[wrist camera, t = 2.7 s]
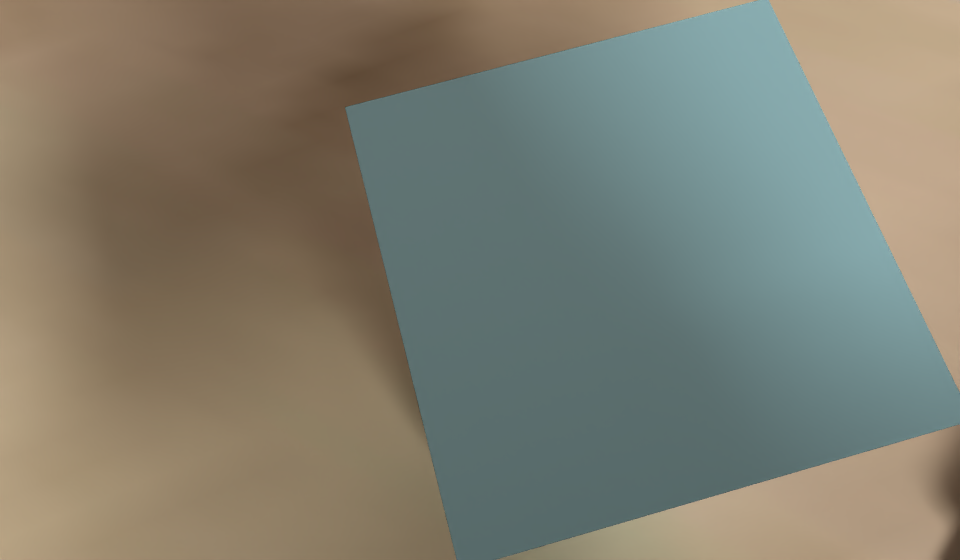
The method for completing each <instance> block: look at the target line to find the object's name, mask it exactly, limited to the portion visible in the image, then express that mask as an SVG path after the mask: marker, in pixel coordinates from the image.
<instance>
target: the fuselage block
mask: <svg viewBox="0 0 960 560" xmlns="http://www.w3.org/2000/svg"><path fill="white" fill-rule="evenodd" d="M345 109H346V113H347V117H348V121H349V125H350V129H351V134H352V138H353V142H354V146H355V150H356V154H357V158H358V162H359V166H360V170H361V174H362V178H363V182H364V186H365V190H366V194H367V198H368V202H369V206H370V210H371V215H372V219H373V223H374V227H375V231H376V235H377V239H378V243H379V247H380V251H381V255H382V259H383V263H384V267H385V271H386V275H387V279H388V283H389V287H390V292H391V296H392V300H393V304H394V308H395V312H396V316H397V320H398V324H399V328H400V332H401V336H402V340H403V344H404V348H405V352H406V356H407V360H408V364H409V369H410V373H411V377H412V381H413V385H414V389H415V393H416V397H417V401H418V405H419V409H420V413H421V417H422V421H423V425H424V429H425V433H426V437H427V441H428V446H429V450H430V454H431V458H432V462H433V466H434V470H435V474H436V478H437V482H438V486H439V490H440V494H441V498H442V502H443V506H444V510H445V514H446V518H447V522H448V527H449V531H450V535H451V539H452V543H453V547H454V551H455V555H456V559H457V560H496V559H500V558H503V557H506V556H510V555H513V554H517V553H520V552H524V551H527V550H530V549H534V548H537V547H541V546H544V545H548V544H551V543H554V542H558V541H561V540H565V539H568V538H572V537H575V536H578V535H582V534H585V533H589V532H592V531H596V530H599V529H602V528H606V527H609V526H613V525H616V524H620V523H623V522H626V521H630V520H633V519H637V518H640V517H644V516H647V515H650V514H654V513H657V512H661V511H664V510H667V509H671V508H674V507H678V506H681V505H685V504H688V503H691V502H695V501H698V500H702V499H705V498H709V497H712V496H715V495H719V494H722V493H726V492H729V491H733V490H736V489H739V488H743V487H746V486H750V485H753V484H757V483H760V482H763V481H767V480H770V479H774V478H777V477H781V476H784V475H787V474H791V473H794V472H798V471H801V470H805V469H808V468H811V467H815V466H818V465H822V464H825V463H829V462H832V461H835V460H839V459H842V458H846V457H849V456H852V455H856V454H859V453H863V452H866V451H870V450H873V449H876V448H880V447H883V446H887V445H890V444H894V443H897V442H900V441H904V440H907V439H911V438H914V437H918V436H921V435H924V434H928V433H931V432H935V431H938V430H942V429H945V428H948V427H952V426H955V425H959V424H960V393H959V390H958V388H957V386H956V384H955V382H954V380H953V378H952V376H951V374H950V372H949V370H948V368H947V366H946V364H945V362H944V360H943V358H942V356H941V354H940V351H939V349H938V347H937V345H936V343H935V341H934V339H933V337H932V335H931V333H930V331H929V329H928V327H927V325H926V323H925V321H924V319H923V317H922V314H921V312H920V310H919V308H918V306H917V304H916V302H915V300H914V298H913V296H912V294H911V292H910V290H909V288H908V286H907V284H906V282H905V280H904V278H903V275H902V273H901V271H900V269H899V267H898V265H897V263H896V261H895V259H894V257H893V255H892V253H891V251H890V249H889V247H888V245H887V243H886V241H885V238H884V236H883V234H882V232H881V230H880V228H879V226H878V224H877V222H876V220H875V218H874V216H873V214H872V212H871V210H870V208H869V206H868V204H867V201H866V199H865V197H864V195H863V193H862V191H861V189H860V187H859V185H858V183H857V181H856V179H855V177H854V175H853V173H852V171H851V169H850V167H849V165H848V162H847V160H846V158H845V156H844V154H843V152H842V150H841V148H840V146H839V144H838V142H837V140H836V138H835V136H834V134H833V132H832V130H831V128H830V125H829V123H828V121H827V119H826V117H825V115H824V113H823V111H822V109H821V107H820V105H819V103H818V101H817V99H816V97H815V95H814V93H813V91H812V89H811V86H810V84H809V82H808V80H807V78H806V76H805V74H804V72H803V70H802V68H801V66H800V64H799V62H798V60H797V58H796V56H795V54H794V52H793V49H792V47H791V45H790V43H789V41H788V39H787V37H786V35H785V33H784V31H783V29H782V27H781V25H780V23H779V21H778V19H777V17H776V15H775V12H774V10H773V8H772V6H771V4H770V2H769V0H758V1H754V2H750V3H746V4H743V5H739V6H735V7H731V8H727V9H723V10H719V11H715V12H712V13H708V14H704V15H700V16H696V17H692V18H688V19H684V20H681V21H677V22H673V23H669V24H665V25H661V26H657V27H654V28H650V29H646V30H642V31H638V32H634V33H630V34H626V35H623V36H619V37H615V38H611V39H607V40H603V41H599V42H595V43H592V44H588V45H584V46H580V47H576V48H572V49H568V50H564V51H561V52H557V53H553V54H549V55H545V56H541V57H537V58H534V59H530V60H526V61H522V62H518V63H514V64H510V65H506V66H503V67H499V68H495V69H491V70H487V71H483V72H479V73H475V74H472V75H468V76H464V77H460V78H456V79H452V80H448V81H445V82H441V83H437V84H433V85H429V86H425V87H421V88H417V89H414V90H410V91H406V92H402V93H398V94H394V95H390V96H386V97H383V98H379V99H375V100H371V101H367V102H363V103H359V104H355V105H352V106H348V107H345Z"/></svg>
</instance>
